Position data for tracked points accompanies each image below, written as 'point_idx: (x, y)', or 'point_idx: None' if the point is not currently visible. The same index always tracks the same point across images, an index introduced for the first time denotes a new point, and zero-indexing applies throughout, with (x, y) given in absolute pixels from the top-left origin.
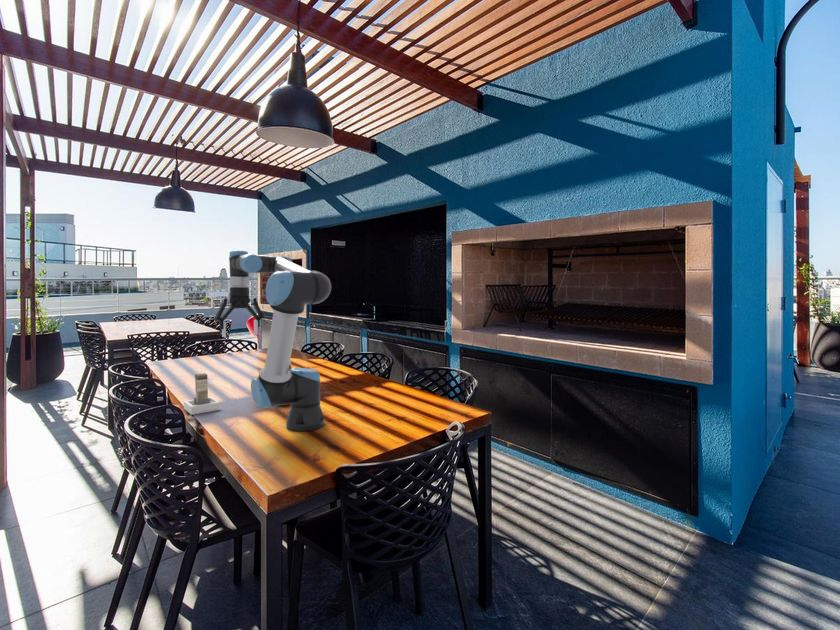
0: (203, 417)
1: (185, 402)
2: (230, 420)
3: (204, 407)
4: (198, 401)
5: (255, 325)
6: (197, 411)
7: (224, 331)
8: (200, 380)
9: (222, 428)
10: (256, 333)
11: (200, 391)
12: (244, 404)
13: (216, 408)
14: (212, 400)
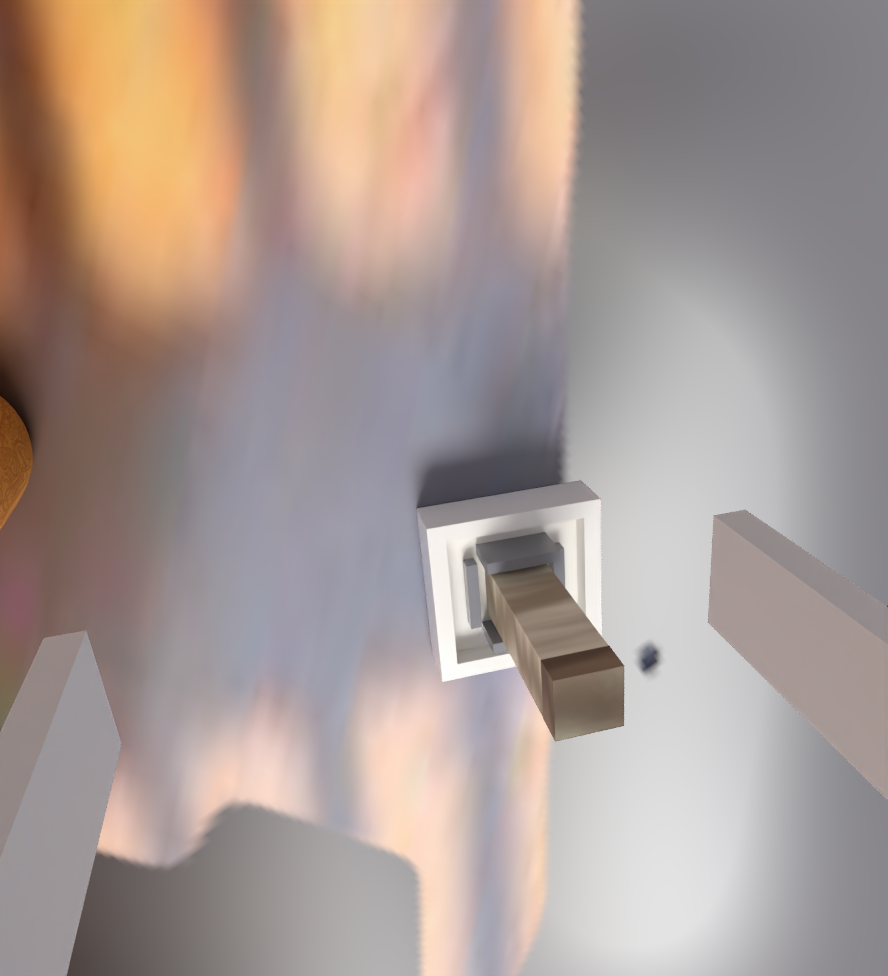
0: (538, 386)
1: (600, 616)
2: (414, 215)
3: (518, 505)
4: (556, 549)
5: (43, 827)
6: (552, 490)
7: (810, 558)
8: (588, 647)
9: (499, 51)
10: (74, 652)
11: (559, 602)
12: (251, 557)
13: (441, 508)
14: (451, 613)
